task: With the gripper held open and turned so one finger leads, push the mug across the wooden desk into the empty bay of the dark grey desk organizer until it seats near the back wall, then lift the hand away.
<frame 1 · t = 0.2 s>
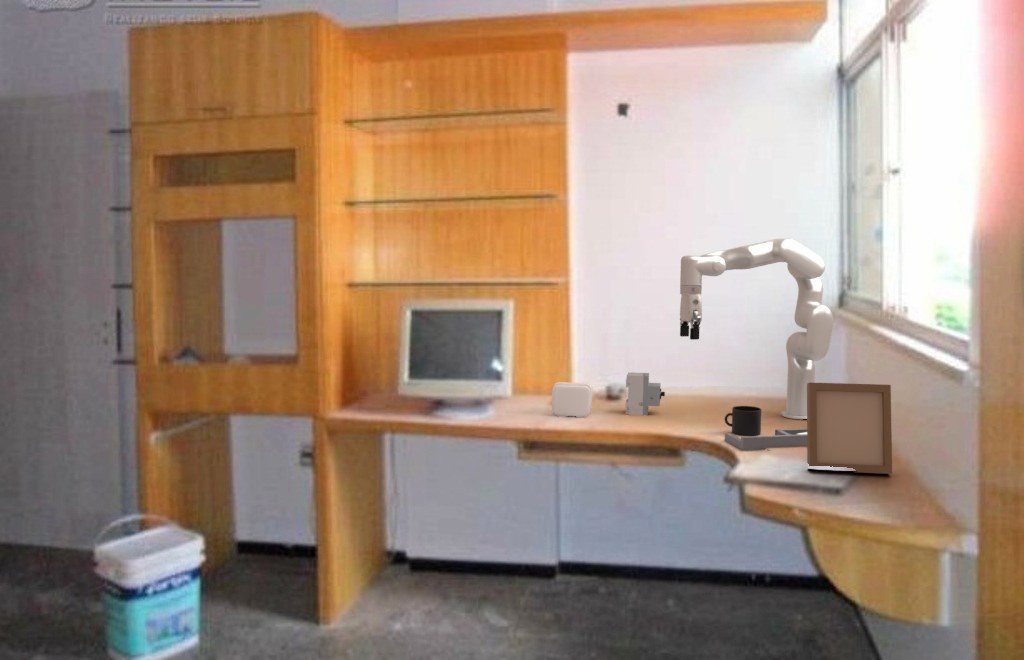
hand: (689, 337, 305), 30 cm above the table, tool pointing down, fingers open, 9 cm apart
eraser: (804, 439, 277), point 1 cm above the table, touching organizer
photo frame: (845, 469, 244), on the table
organizer: (761, 444, 274), on the table
circuit breaker: (645, 414, 322), on the table
mug: (742, 435, 287), on the table
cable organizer: (571, 415, 320), on the table
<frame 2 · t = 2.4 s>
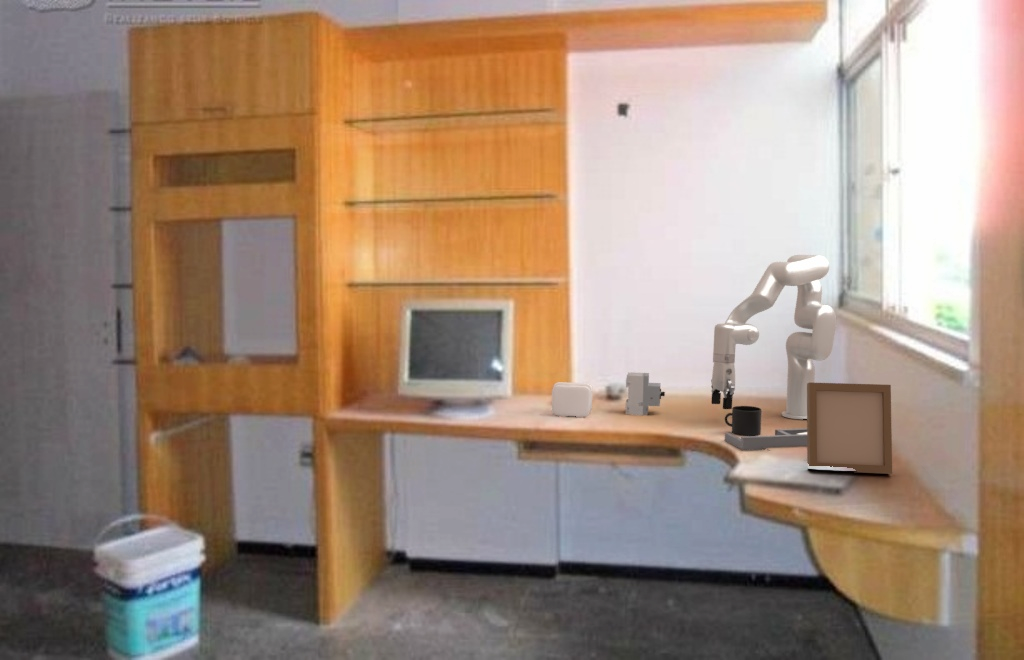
hand: (721, 406, 302), 7 cm above the table, tool pointing down, fingers open, 9 cm apart
nothing on the table moved.
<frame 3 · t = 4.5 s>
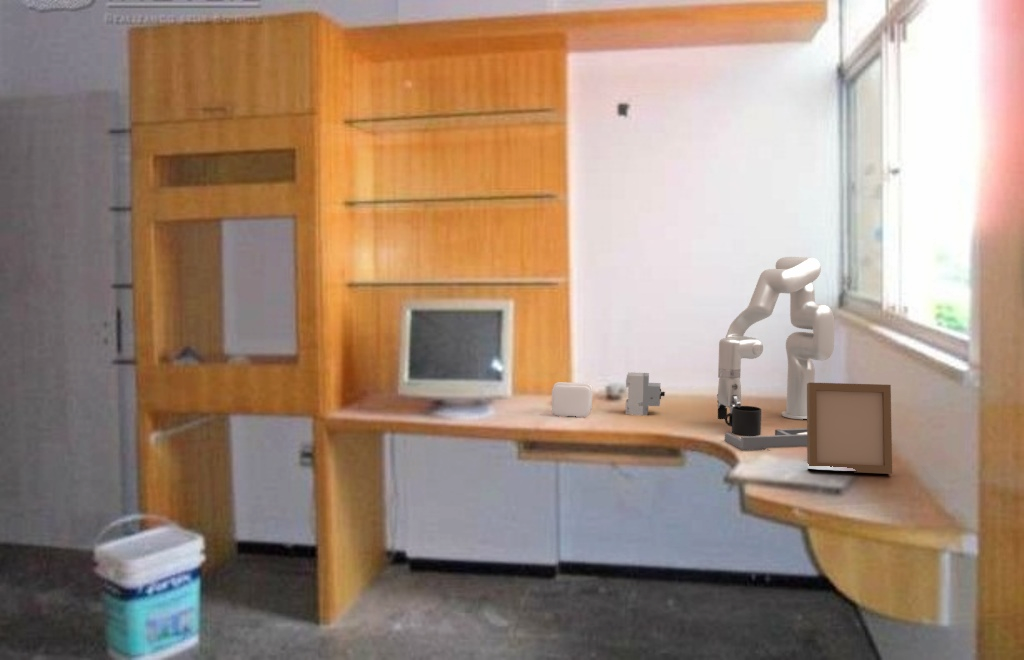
hand: (727, 421, 299), 2 cm above the table, tool pointing down, fingers open, 9 cm apart
mug: (742, 435, 287), on the table, touching gripper
everything else where it was.
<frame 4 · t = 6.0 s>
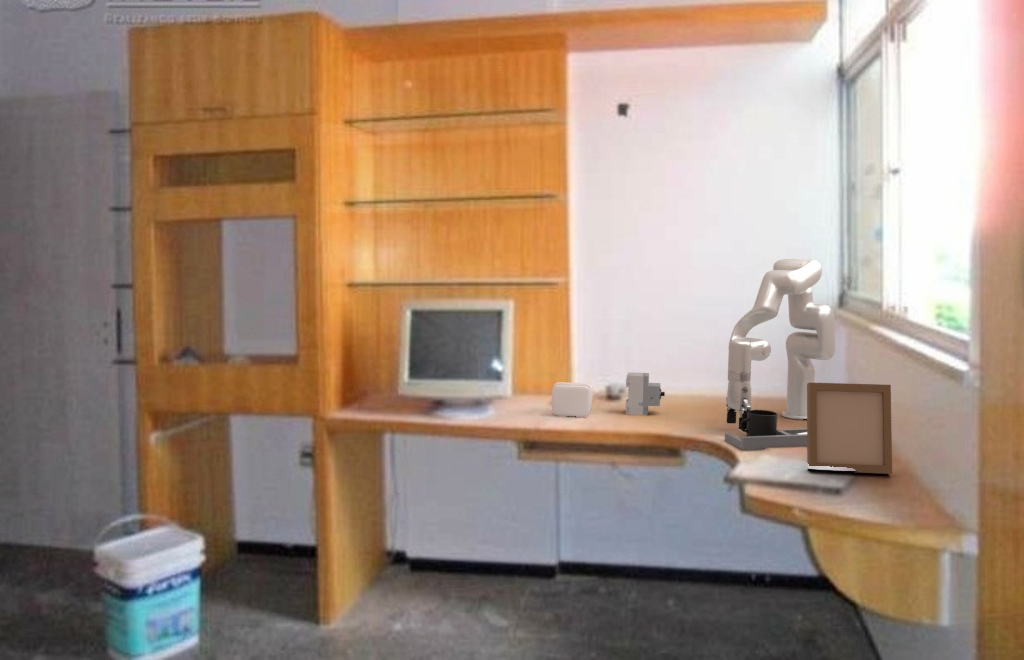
hand: (737, 426, 290), 2 cm above the table, tool pointing down, fingers open, 9 cm apart
mug: (757, 440, 279), on the table, touching gripper
everything else where it was.
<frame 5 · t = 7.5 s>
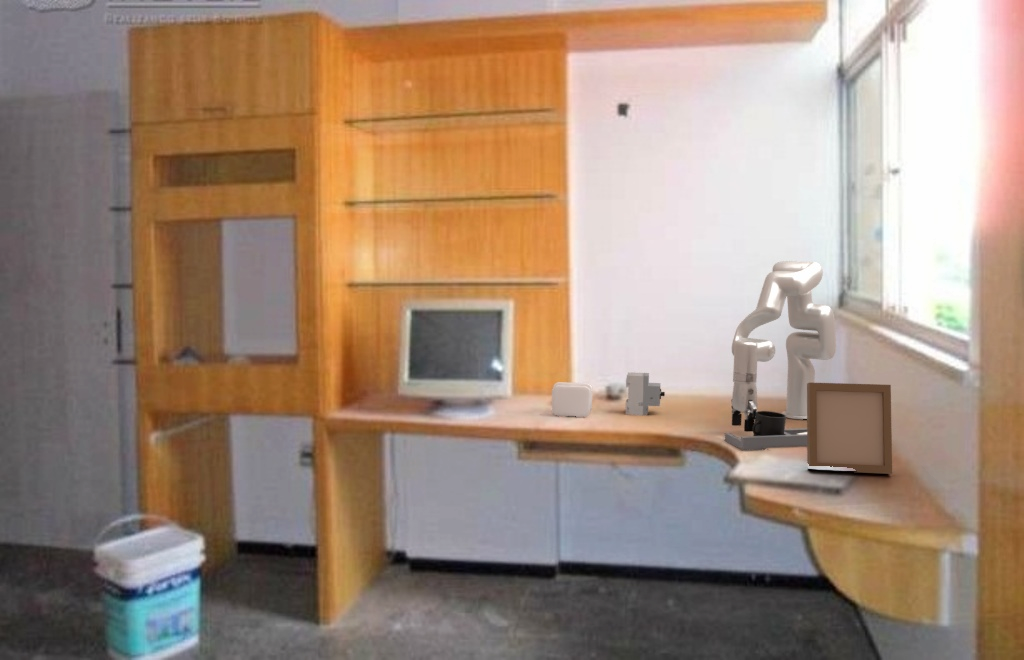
hand: (742, 428, 285), 3 cm above the table, tool pointing down, fingers open, 9 cm apart
mug: (764, 442, 276), on the table, touching gripper, organizer
everything else where it was.
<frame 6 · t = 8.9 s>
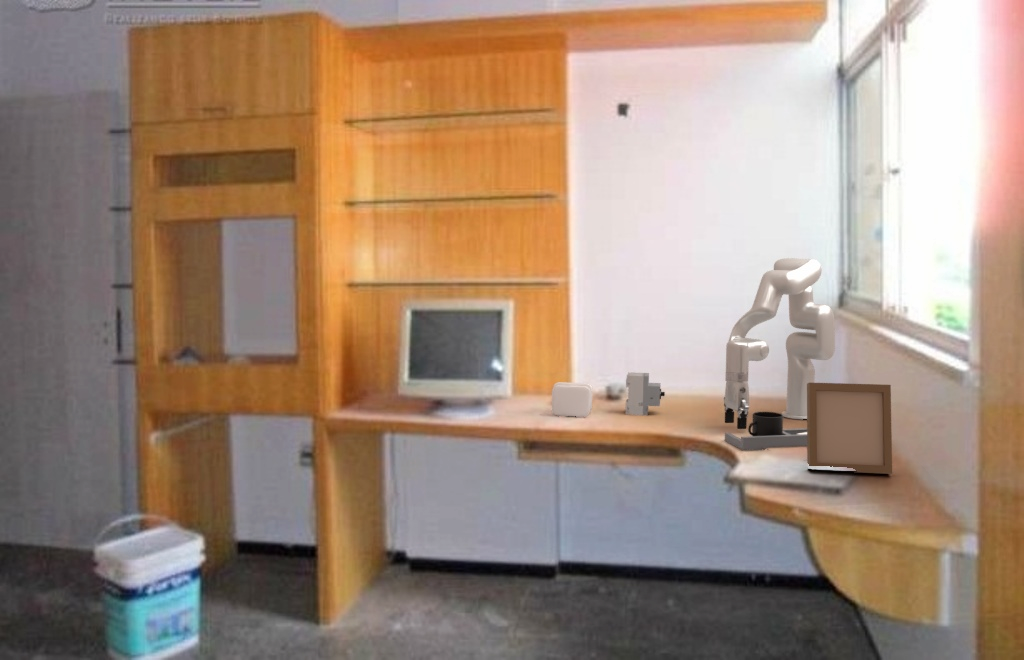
hand: (735, 425, 293), 2 cm above the table, tool pointing down, fingers open, 9 cm apart
mug: (763, 442, 276), on the table
everything else where it was.
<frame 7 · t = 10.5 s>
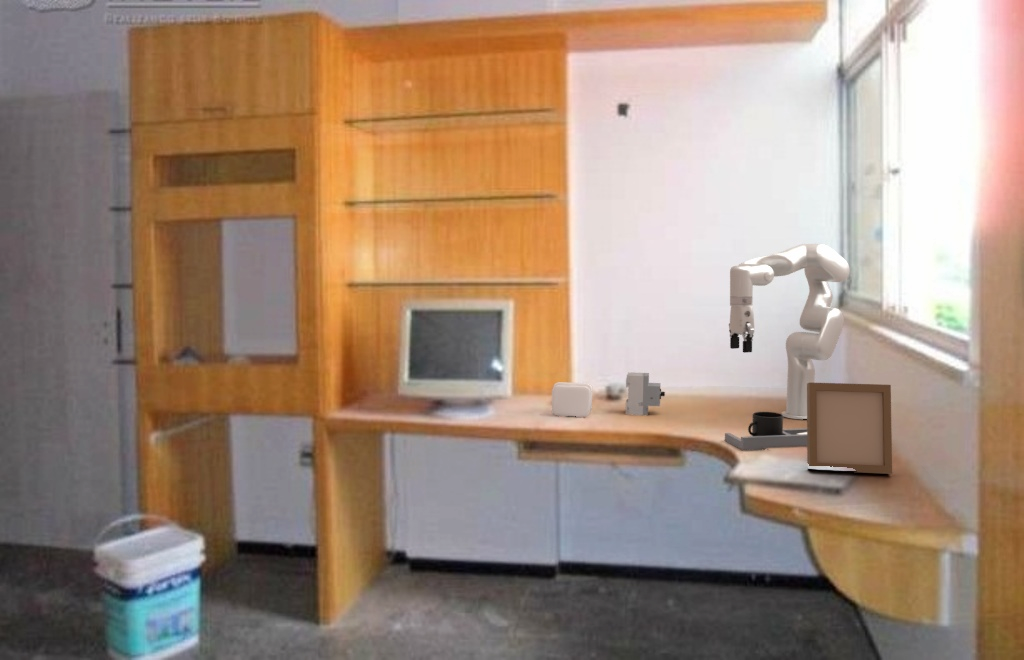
hand: (740, 350, 296), 27 cm above the table, tool pointing down, fingers open, 9 cm apart
nothing on the table moved.
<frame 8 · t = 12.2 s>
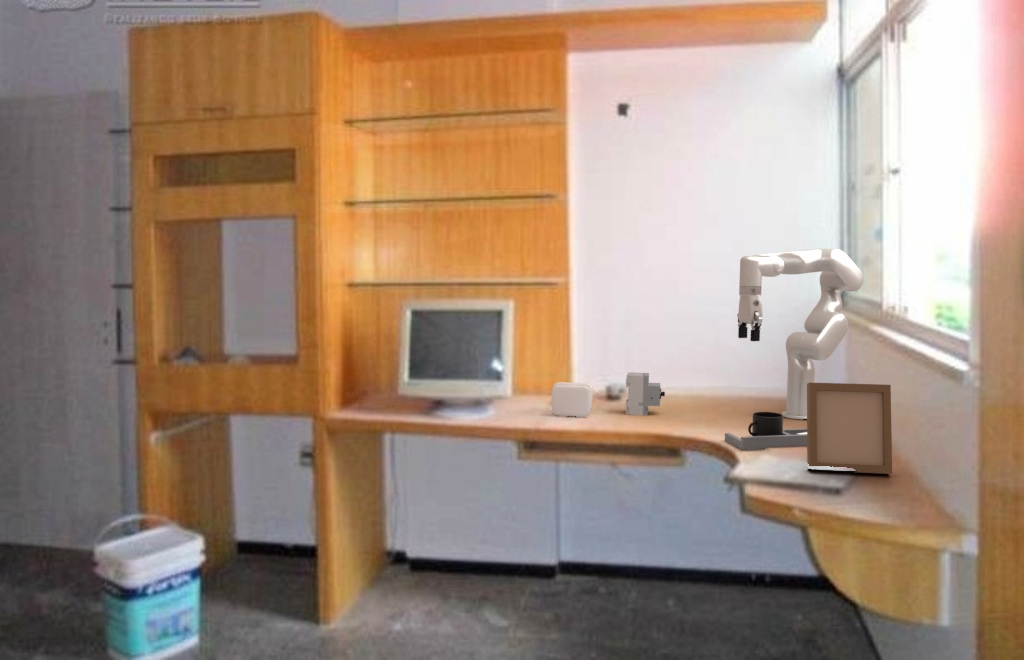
hand: (748, 339, 302), 30 cm above the table, tool pointing down, fingers open, 9 cm apart
nothing on the table moved.
at the end: mug inside the target area on the organizer (2.8 cm from its centre), point 0.0 cm above the organizer's base; mug tilted 0°; mug moved 11.8 cm from its start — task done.
